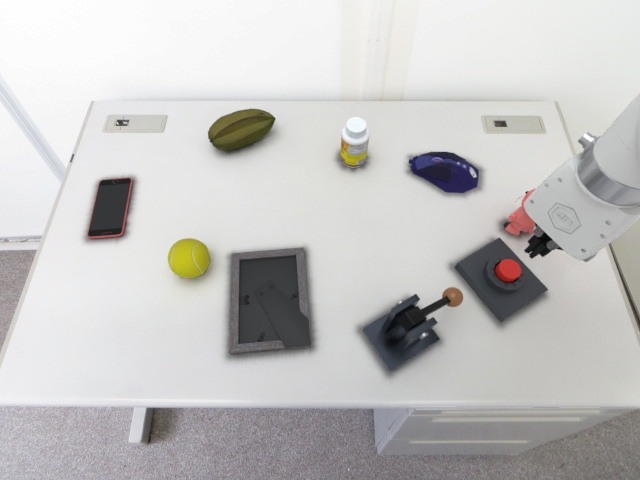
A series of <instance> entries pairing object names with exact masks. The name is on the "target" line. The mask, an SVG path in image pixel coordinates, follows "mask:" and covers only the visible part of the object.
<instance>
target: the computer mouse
mask: <svg viewBox="0 0 640 480" xmlns="http://www.w3.org/2000/svg"><path fill="white" fill-rule="evenodd" d="M408 164H409V165H410V171H411V172H412V174H413V175H415V176H418V177H419V178H422V179H424V180H425V181H426V182H429V183H430V184H432V185H434V186H435V187H437V188H438V189H440V190H442V191H443V192H445V193H455V194H457V193H458V194H464V193H466V192H468V191H471V190H473V189H475V188H477V187H478V185H479V179H480V178H479V177H480V176H479V175H480V170H479V169H478V168H477V167H475V166H474V165H473V164H472V163H470V162H469V161H467V160H466V159H465V158H464V157H462V156H460V155H458V154H456V153H455V152H450V151H429V152H425V153H421V154H419V155H415V156H413V157H412V158H410V159H408Z"/></svg>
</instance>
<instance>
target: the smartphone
mask: <svg viewBox="0 0 640 480" xmlns="http://www.w3.org/2000/svg"><path fill="white" fill-rule="evenodd" d="M132 186H133V179H132V178H131V177H119V178H117V177H116V178H107V179H106V178H104V179H101V180H100V181H99V182H98V185H97V190H96V193H95V198H94V203H93V207H92V211H91V214H90V215H91V216H90V220H89V225H88V229H87V234H86V237H87V238H88V239H103V238H118V237H121V236H123V235H124V232H125V228H126V222H127V216H128V210H129V203H130V198H131V192H132Z"/></svg>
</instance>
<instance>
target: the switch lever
mask: <svg viewBox="0 0 640 480" xmlns="http://www.w3.org/2000/svg"><path fill="white" fill-rule="evenodd" d="M463 302H464V294H463V292H462V291H461V290H460V289H459V288H457V287H454V286H450V287H447V288H445V289H444V290H443V292H442V295H441V298H440V299H438V300H435V301H434V302H432V303H430V304H428V305H426V306H425V307H423V308H420V307H419V305H416V307H414V308H412V309H410V310H408V311H406V312H405V313H404V314H403V315H402V316H401V317H400V318H399V319H398V322H399V323H400V324H401V326H402V327H403V329H404V330H405V332H408V331H410V330H411V329H413V328H415V327H417V326H419V325H420V324H421V323H422V322H423V321H424V320H426V321H427V320H428V319H427V317H428V316H429V315H431V314H433V313H435V312H437V311H438V310H440V309H442V308H444V307H446V306H447V307H449V308H457V307H459V306H460V305H461V304H462V303H463Z"/></svg>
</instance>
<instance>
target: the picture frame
mask: <svg viewBox="0 0 640 480" xmlns="http://www.w3.org/2000/svg"><path fill="white" fill-rule="evenodd" d="M230 259H231V264H230V265H231V266H230V302H229V303H230V305H229V343H228V346H229V347H228V352H229V353H228V354H229V355H232V356H233V355H244V354H254V353H266V352H276V351H277V352H278V351H287V350H288V351H289V350H298V349H299V350H300V349H308V348H309V349H310V348H312V343H311V329H310V317H309V315H310V313H309V303H308V302H309V301H308V300H309V299H308V289H307V287H308V286H307V275H306V262H305V250H304V247H292V248H281V249H280V248H279V249H269V250H256V251H243V252H233V253H231V258H230Z"/></svg>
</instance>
